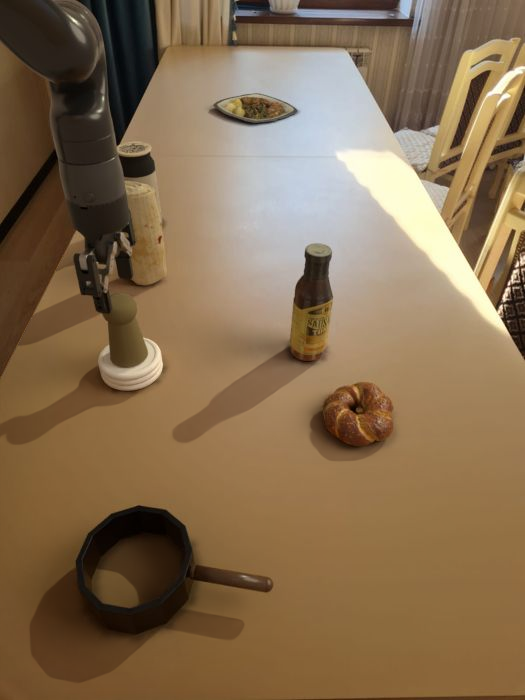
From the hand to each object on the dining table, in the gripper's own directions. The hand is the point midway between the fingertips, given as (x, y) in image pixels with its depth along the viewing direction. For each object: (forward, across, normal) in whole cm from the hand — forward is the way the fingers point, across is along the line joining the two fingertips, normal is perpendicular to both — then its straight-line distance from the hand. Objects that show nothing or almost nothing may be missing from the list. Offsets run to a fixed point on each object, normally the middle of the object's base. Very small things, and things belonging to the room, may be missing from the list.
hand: (115, 294), depth 79 cm
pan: (+15, +33, +18) cm, 41 cm away
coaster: (+16, 0, 0) cm, 16 cm away
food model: (+16, -26, -7) cm, 31 cm away
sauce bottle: (+15, -10, +28) cm, 34 cm away
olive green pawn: (+12, 0, 0) cm, 12 cm away
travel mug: (+16, -47, -14) cm, 51 cm away
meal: (+15, -130, -3) cm, 131 cm away
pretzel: (+15, +4, +37) cm, 40 cm away
